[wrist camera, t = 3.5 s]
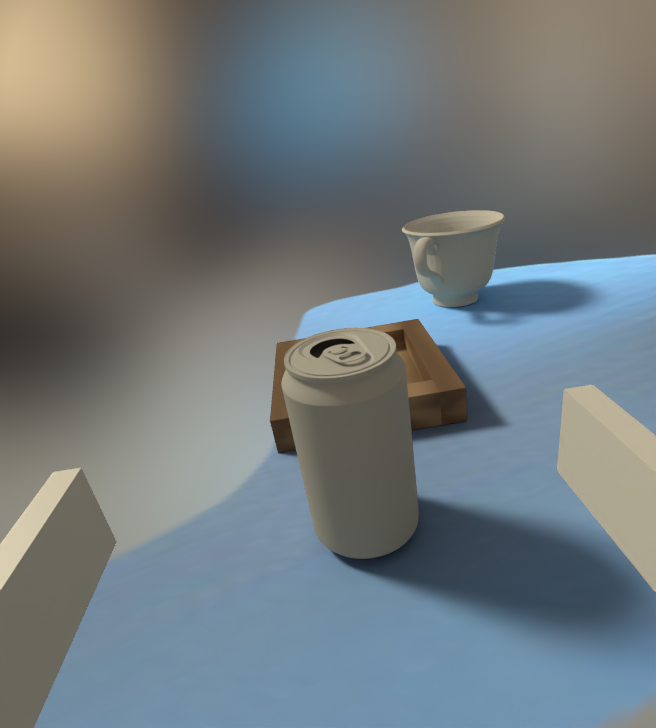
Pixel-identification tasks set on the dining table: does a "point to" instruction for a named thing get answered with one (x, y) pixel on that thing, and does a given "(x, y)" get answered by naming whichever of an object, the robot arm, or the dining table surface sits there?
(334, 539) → the beverage can
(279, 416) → the tray
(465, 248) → the teacup
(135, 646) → the dining table surface
